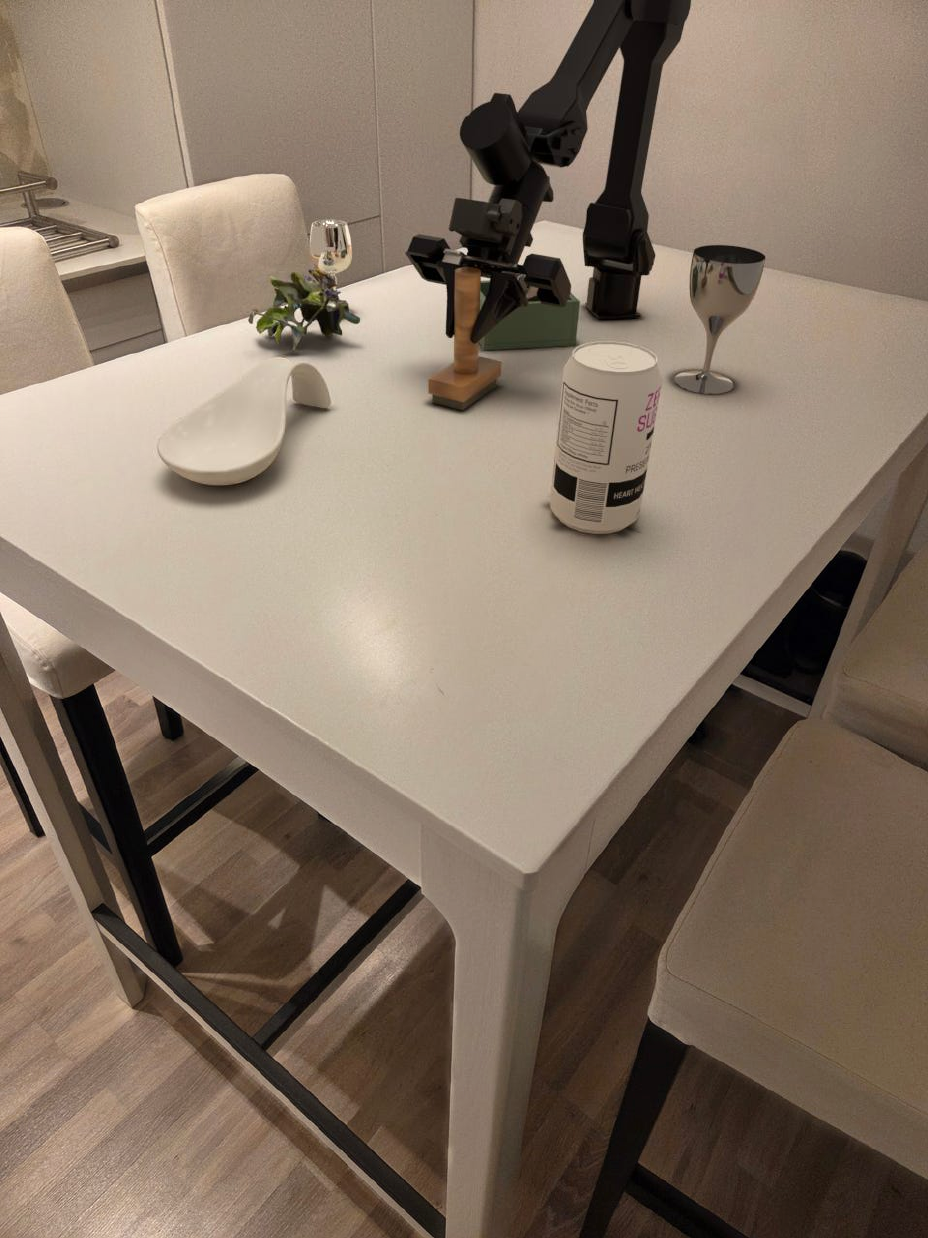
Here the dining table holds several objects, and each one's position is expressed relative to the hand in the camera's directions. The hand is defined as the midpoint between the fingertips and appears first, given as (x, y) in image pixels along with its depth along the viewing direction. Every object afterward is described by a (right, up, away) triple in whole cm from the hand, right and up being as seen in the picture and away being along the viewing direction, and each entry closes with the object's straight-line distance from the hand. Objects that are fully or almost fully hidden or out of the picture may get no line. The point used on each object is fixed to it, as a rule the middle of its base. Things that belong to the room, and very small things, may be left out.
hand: (460, 338), depth 96 cm
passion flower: (-20, +4, +17) cm, 27 cm away
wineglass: (-18, +12, +27) cm, 35 cm away
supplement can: (+12, -22, -16) cm, 30 cm away
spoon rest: (-21, -14, -7) cm, 26 cm away
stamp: (+1, -5, +5) cm, 7 cm away
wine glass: (+30, -2, +10) cm, 32 cm away
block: (+8, +8, +22) cm, 25 cm away
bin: (+8, +8, +22) cm, 25 cm away
